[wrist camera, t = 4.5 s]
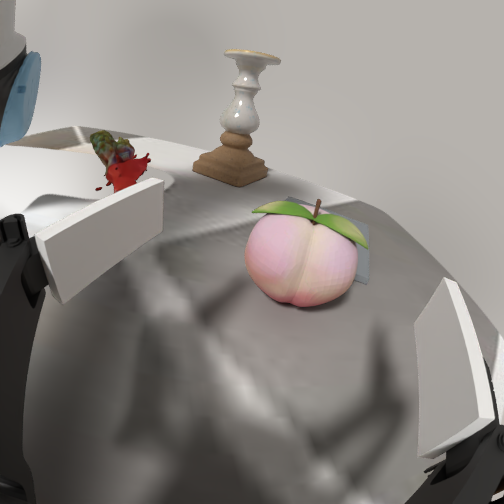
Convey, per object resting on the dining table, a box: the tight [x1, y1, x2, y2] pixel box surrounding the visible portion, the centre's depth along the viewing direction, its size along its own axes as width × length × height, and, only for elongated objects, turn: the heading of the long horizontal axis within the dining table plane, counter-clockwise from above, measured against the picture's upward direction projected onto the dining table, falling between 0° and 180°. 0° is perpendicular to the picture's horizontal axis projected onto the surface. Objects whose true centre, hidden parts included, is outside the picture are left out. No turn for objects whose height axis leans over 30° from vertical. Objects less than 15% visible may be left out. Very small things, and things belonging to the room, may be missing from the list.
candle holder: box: [192, 49, 281, 187], centre depth 45 cm, size 11×11×24 cm
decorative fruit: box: [245, 199, 369, 307], centre depth 22 cm, size 9×8×10 cm
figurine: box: [90, 130, 151, 193], centre depth 36 cm, size 8×10×12 cm
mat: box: [285, 197, 369, 284], centre depth 37 cm, size 16×14×1 cm
